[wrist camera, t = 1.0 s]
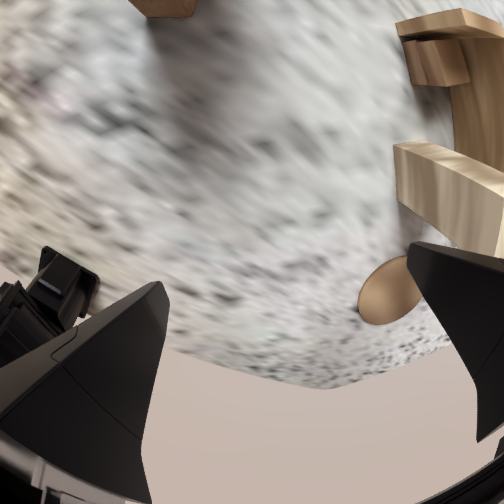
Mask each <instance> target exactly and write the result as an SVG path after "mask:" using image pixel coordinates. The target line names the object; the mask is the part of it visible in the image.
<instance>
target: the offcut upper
mask: <svg viewBox="0 0 504 504" xmlns="http://www.w3.org/2000/svg"><path fill="white" fill-rule="evenodd" d="M415 46H416V49H417V51H418V54H419V57H420V60H421V63H422V66H423V69H424V72H425V75H426V78H427V82H428V85H432V86H445V87H447V86H452V85H458V84H463V83H469V82H470V78H469V74H468V70H467V67H466V63H465V60H464V56H463V53H462V50H461V47H460V44H459V41H458V39H453V40H432V41H424V42H418V43H415Z"/></svg>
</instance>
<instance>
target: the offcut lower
mask: <svg viewBox="0 0 504 504" xmlns="http://www.w3.org/2000/svg"><path fill="white" fill-rule="evenodd" d="M418 42H424V41H418V40H414V41H408V42H403V43H402V45H403V49H404V53H405V57H406V62H407V66H408V71H409V76H410V81H411V84H414V85H428V82H427V78H426V75H425V72H424V69H423V66H422V63H421V60H420V57H419V54H418V51H417V49H416V46H415V43H418ZM452 86H454V85H452Z"/></svg>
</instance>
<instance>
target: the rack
mask: <svg viewBox="0 0 504 504" xmlns="http://www.w3.org/2000/svg"><path fill="white" fill-rule="evenodd" d="M395 24H396V27H397V30H398V34H399V36H407V37H417V38H426V39H433V40H453V39H458V41H459V44H460V47H461V50H462V53H463V56H464V60H465V63H466V67H467V70H468V74H469V78H470V82H469V83H463V84H458V85H454V86H449V90H450V97H451V105H452V115H453V126H454V143H455V152H457V153H460V154H462V155H465V156H467V157H470V158H472V159H474V160H477V161H479V162H481V163H483V164H486V165H488V166H490V167H492V168H494V169H496V170H498V171H500V172H502V173H504V32H503V28H502V25H501V23H498V22H496V21H494V20H491V19H489V18H487V17H484V16H482V15H479V14H476V13H474V12H471V11H468V10H465V9H462V8H459V9H453V10H447V11H442V12H437V13H433V14H428V15H424V16H420V17H416V18H412V19H409V20H405V21H402V22H398V23H395Z"/></svg>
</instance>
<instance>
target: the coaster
mask: <svg viewBox="0 0 504 504" xmlns="http://www.w3.org/2000/svg"><path fill="white" fill-rule="evenodd" d="M406 261H407V256H401V257H397V258H394V259H392V260H389V261H388V262H386V263H384V264H383V265H381V266H380V267H379V268H378V269H376V270H375V271H374V272H373V273H372V274H371V275H370V276H369V278H368V279H367V280H366V282H365V283H364V285H363V287H362V289H361V291H360V294H359V297H358V309H359V312H360V313H361V315H362V317H363V318H364V319H365V320H366V321H367V322H369V323H371V324H377V325H381V324H387V323H391V322H393V321H396V320H398V319H400V318H401V317H403V316H405V315H406V314H407V313H409V312H410V311H411V310H412V309H413V308H414V307H415V306H416V305H417V304H418V302H419V301H420V300H421V298H422V297H423V296H422V294H421V292H420V290H419V289H418V287H417V285H416V283H415V281H414V279H413V278H412V276H411V274H410V272H409V271H408V269H407V265H406Z"/></svg>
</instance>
